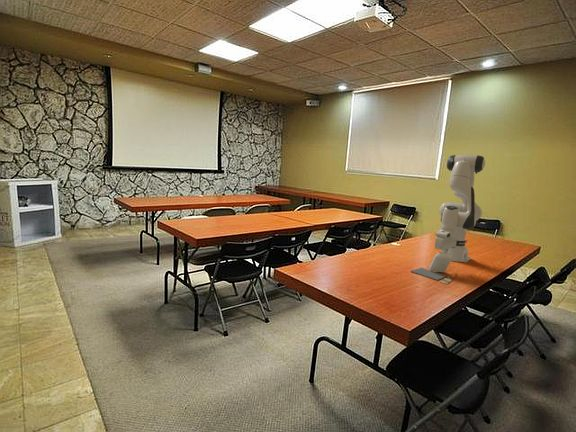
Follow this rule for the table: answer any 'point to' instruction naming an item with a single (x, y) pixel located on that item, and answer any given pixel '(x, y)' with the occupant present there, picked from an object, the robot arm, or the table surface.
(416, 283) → the table surface
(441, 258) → the photo printer
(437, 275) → the mat
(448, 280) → the turner
